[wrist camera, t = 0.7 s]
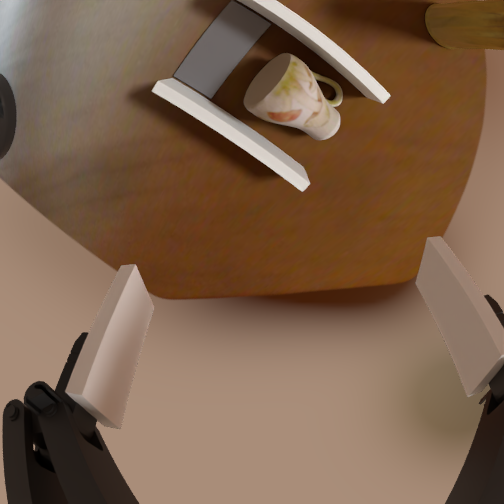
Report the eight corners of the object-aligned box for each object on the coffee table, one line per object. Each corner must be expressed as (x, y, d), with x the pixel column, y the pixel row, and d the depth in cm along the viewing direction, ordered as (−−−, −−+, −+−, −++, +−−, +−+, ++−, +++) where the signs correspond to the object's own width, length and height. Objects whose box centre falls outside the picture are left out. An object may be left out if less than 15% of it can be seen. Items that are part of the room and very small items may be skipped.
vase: (415, 9, 21) (494, -2, 9) (448, -1, 18) (528, -8, 7) (438, 54, 23) (521, 66, 12) (470, 42, 21) (551, 53, 10)
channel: (166, 86, 28) (151, 91, 24) (240, -10, 21) (237, -22, 17) (296, 174, 34) (302, 192, 30) (373, 90, 27) (390, 95, 23)
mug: (316, 152, 32) (278, 164, 25) (264, 92, 32) (214, 87, 25) (365, 113, 28) (344, 109, 20) (307, 51, 28) (266, 30, 20)
